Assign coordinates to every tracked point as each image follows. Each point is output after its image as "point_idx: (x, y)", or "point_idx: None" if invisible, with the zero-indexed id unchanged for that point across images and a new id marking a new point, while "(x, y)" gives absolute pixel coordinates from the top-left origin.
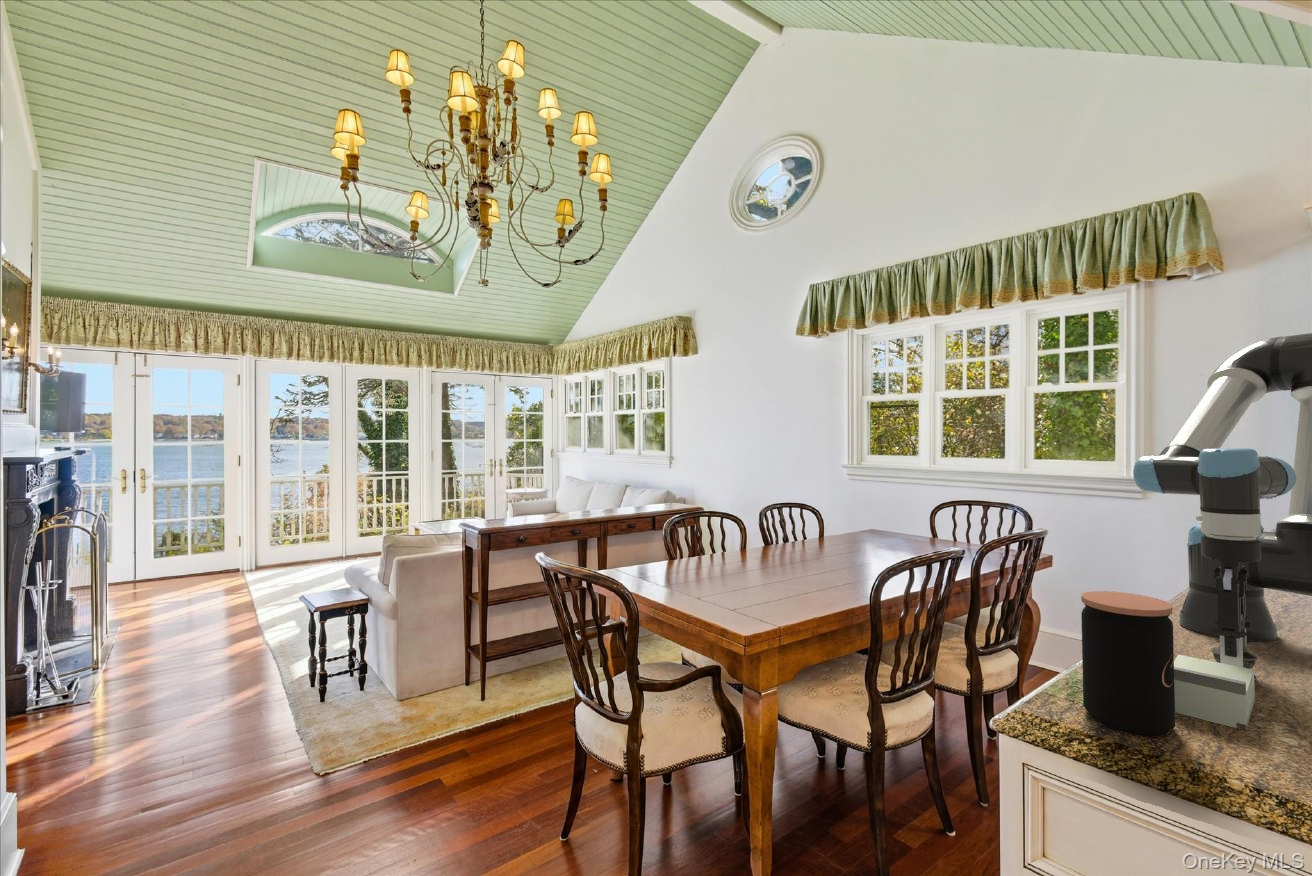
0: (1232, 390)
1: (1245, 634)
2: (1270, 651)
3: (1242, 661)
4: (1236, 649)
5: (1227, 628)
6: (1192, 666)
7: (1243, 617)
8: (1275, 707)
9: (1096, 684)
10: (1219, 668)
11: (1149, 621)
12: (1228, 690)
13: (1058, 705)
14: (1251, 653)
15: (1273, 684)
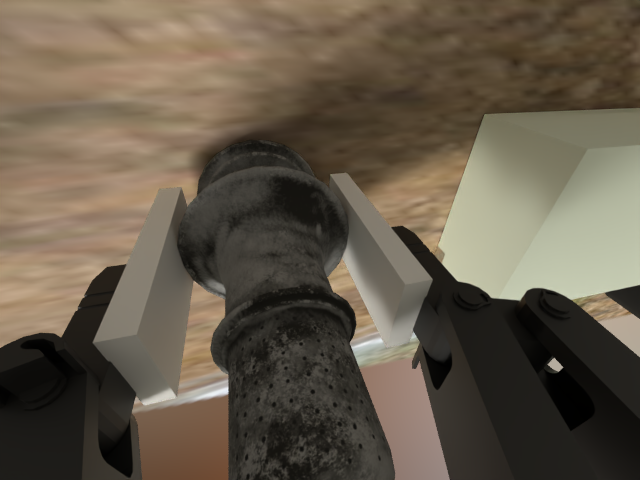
0: None
1: (319, 294)
2: None
3: (370, 202)
4: (414, 249)
5: (545, 361)
6: (588, 270)
7: (343, 456)
8: (516, 56)
9: None
10: (595, 227)
11: None
12: None
13: (602, 305)
14: (202, 202)
15: (236, 78)
